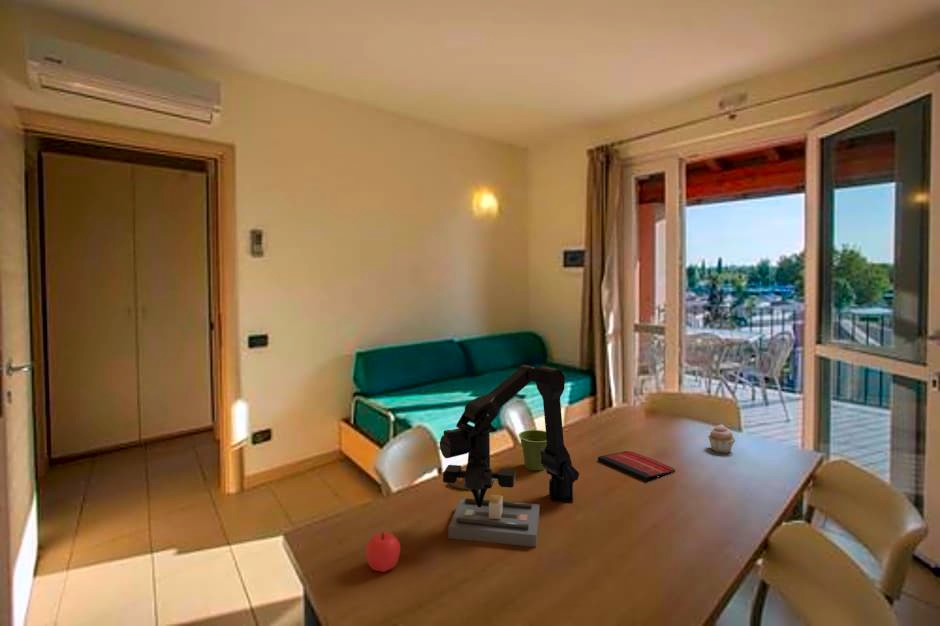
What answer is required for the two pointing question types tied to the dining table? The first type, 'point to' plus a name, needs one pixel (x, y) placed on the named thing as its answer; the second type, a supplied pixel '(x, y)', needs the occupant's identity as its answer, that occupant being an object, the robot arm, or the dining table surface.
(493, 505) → the switch knob
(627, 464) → the binder
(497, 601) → the dining table surface
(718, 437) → the cupcake
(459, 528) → the slide switch base
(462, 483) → the pastry
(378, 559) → the apple
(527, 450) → the plant pot
